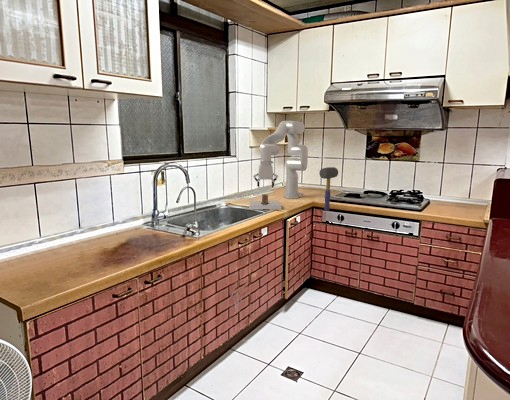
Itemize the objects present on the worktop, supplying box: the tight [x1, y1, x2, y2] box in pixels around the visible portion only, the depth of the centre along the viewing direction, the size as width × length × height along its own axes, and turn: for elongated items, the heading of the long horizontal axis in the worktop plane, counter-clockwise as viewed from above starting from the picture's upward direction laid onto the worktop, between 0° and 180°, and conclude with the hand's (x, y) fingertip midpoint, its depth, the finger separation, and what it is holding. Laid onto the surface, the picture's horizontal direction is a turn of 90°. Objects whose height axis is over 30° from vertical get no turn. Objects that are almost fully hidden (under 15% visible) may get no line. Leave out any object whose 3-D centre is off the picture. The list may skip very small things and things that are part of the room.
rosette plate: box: [248, 200, 282, 211], centre depth 255 cm, size 22×14×3 cm, turn 92°
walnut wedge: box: [261, 193, 269, 204], centre depth 254 cm, size 4×4×9 cm
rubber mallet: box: [318, 166, 339, 212], centre depth 244 cm, size 12×8×30 cm, turn 129°
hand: (265, 187), depth 253 cm, fingers open, 9 cm apart
